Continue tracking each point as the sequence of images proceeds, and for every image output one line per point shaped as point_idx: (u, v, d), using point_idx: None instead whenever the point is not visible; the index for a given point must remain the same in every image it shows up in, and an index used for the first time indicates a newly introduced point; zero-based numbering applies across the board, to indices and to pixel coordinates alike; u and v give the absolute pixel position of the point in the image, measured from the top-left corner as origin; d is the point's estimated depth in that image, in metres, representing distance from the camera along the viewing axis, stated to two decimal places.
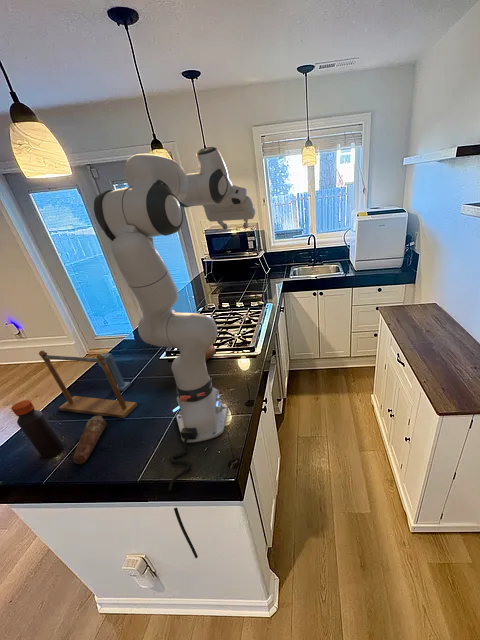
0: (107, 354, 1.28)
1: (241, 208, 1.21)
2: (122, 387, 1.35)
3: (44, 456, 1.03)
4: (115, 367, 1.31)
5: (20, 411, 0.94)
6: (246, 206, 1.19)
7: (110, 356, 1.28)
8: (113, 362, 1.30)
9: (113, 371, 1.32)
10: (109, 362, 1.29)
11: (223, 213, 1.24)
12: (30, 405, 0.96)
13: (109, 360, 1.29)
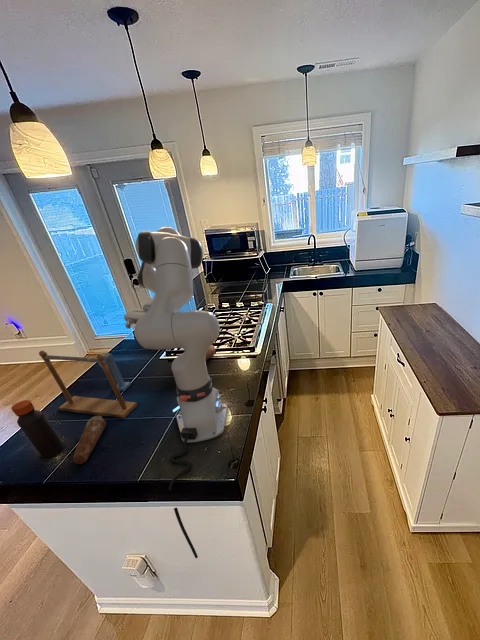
0: (107, 354, 1.28)
1: None
2: (122, 387, 1.35)
3: (44, 456, 1.03)
4: (115, 367, 1.31)
5: (20, 411, 0.94)
6: None
7: (110, 356, 1.28)
8: (113, 362, 1.30)
9: (113, 371, 1.32)
10: (109, 362, 1.29)
11: (140, 314, 1.43)
12: (30, 405, 0.96)
13: (109, 360, 1.29)
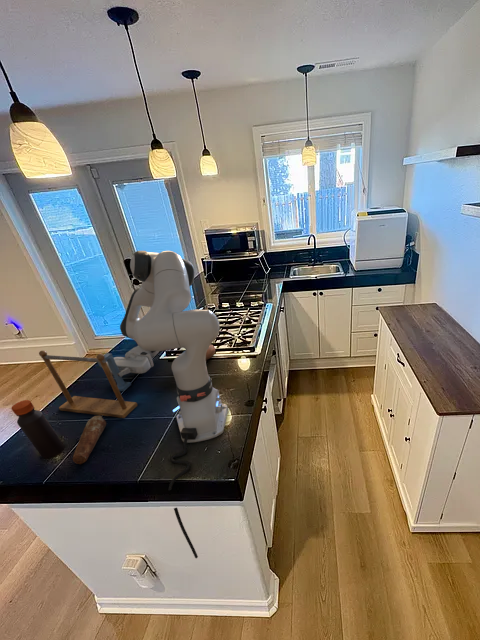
0: (107, 354, 1.28)
1: (140, 361, 1.37)
2: (122, 387, 1.35)
3: (44, 456, 1.03)
4: (115, 367, 1.31)
5: (20, 411, 0.94)
6: (146, 358, 1.37)
7: (110, 356, 1.28)
8: (113, 362, 1.30)
9: (113, 371, 1.32)
10: (109, 362, 1.29)
11: (122, 361, 1.38)
12: (30, 405, 0.96)
13: (109, 360, 1.29)
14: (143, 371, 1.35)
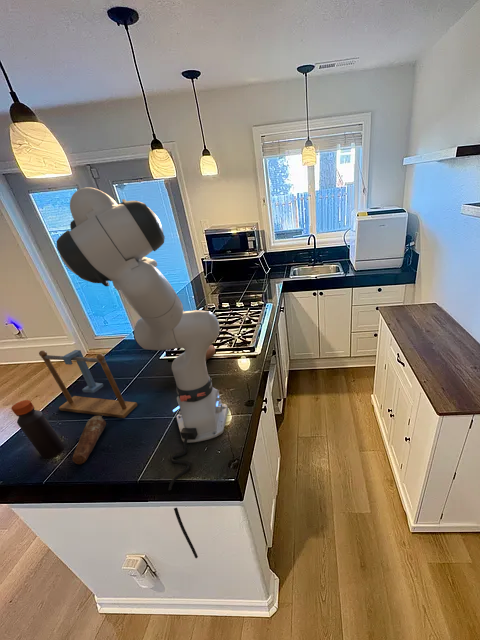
0: (75, 351, 1.14)
1: None
2: (92, 388, 1.20)
3: (44, 456, 1.03)
4: (84, 366, 1.17)
5: (20, 411, 0.94)
6: None
7: (78, 353, 1.14)
8: None
9: (82, 370, 1.18)
10: None
11: None
12: (30, 405, 0.96)
13: None
14: None
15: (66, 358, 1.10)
